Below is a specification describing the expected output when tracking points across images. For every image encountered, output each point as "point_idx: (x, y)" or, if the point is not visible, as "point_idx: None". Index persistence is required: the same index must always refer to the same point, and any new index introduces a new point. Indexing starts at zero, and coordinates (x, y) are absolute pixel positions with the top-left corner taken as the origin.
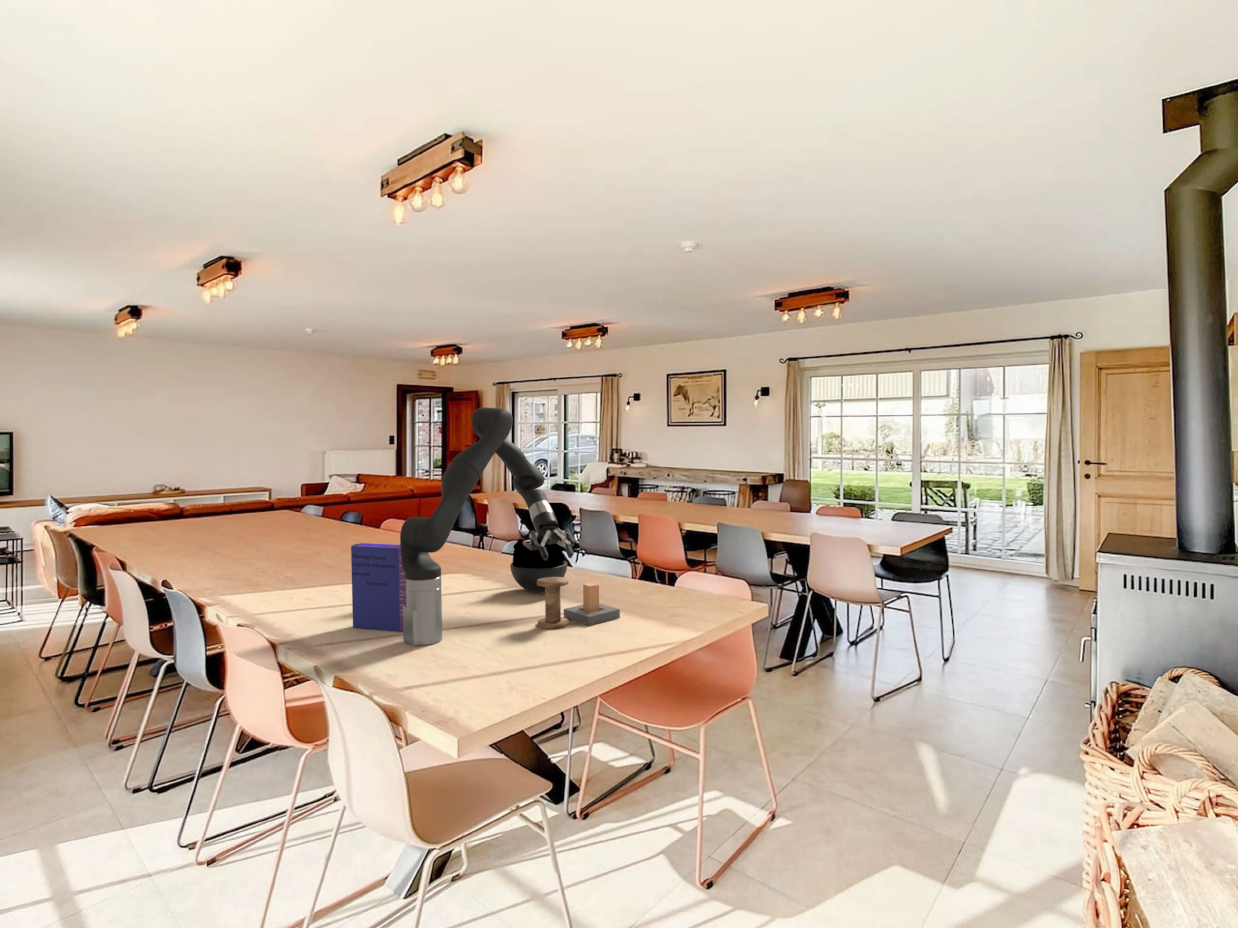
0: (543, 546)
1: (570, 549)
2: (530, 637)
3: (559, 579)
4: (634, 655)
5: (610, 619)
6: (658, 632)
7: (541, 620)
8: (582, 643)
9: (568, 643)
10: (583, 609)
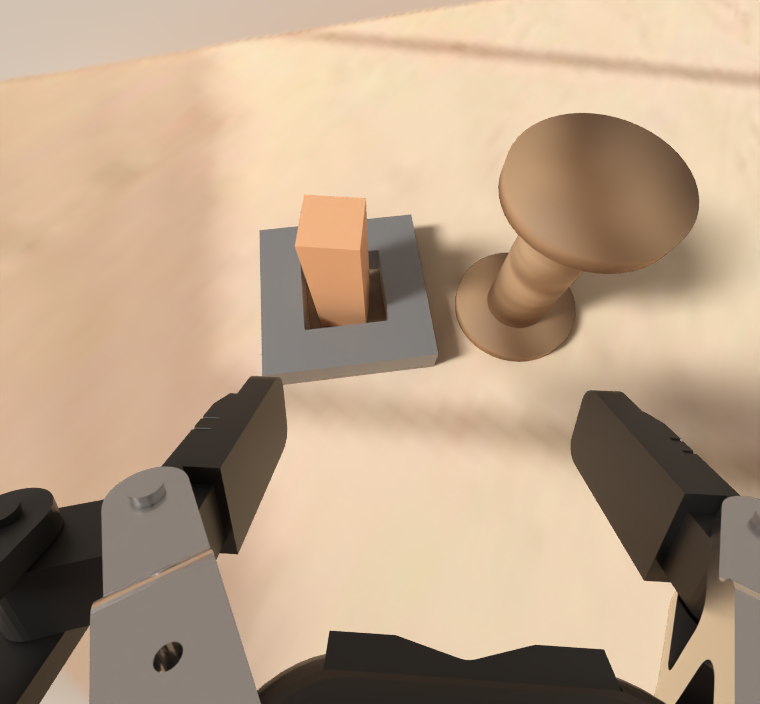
0: (731, 498)
1: (236, 411)
2: None
3: (555, 173)
4: (446, 26)
5: None
6: (288, 96)
7: (552, 333)
8: (511, 127)
9: None
10: (365, 314)
